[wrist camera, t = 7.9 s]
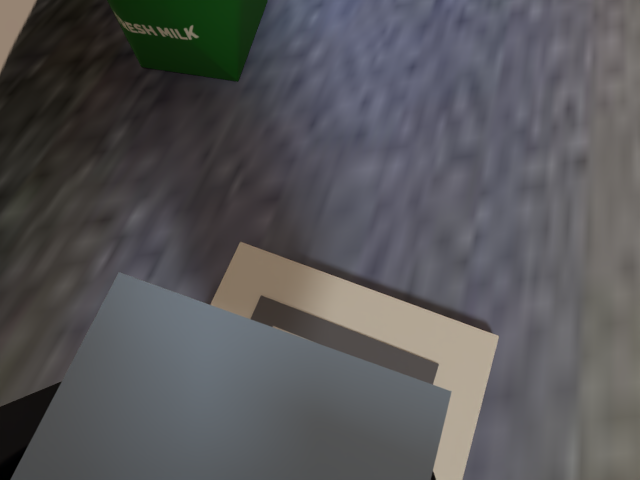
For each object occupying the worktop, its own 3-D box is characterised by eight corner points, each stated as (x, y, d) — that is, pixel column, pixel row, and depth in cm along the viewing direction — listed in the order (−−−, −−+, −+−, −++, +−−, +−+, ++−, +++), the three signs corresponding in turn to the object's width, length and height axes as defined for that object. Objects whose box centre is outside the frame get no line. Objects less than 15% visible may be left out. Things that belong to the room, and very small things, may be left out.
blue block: (342, 549, 13) (322, 932, 4) (201, 487, 14) (-93, 676, 5) (387, 391, 15) (451, 391, 5) (257, 344, 16) (118, 272, 6)
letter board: (115, 514, 19) (107, 518, 19) (243, 245, 23) (240, 241, 23) (408, 670, 17) (410, 681, 16) (494, 337, 21) (499, 336, 20)
